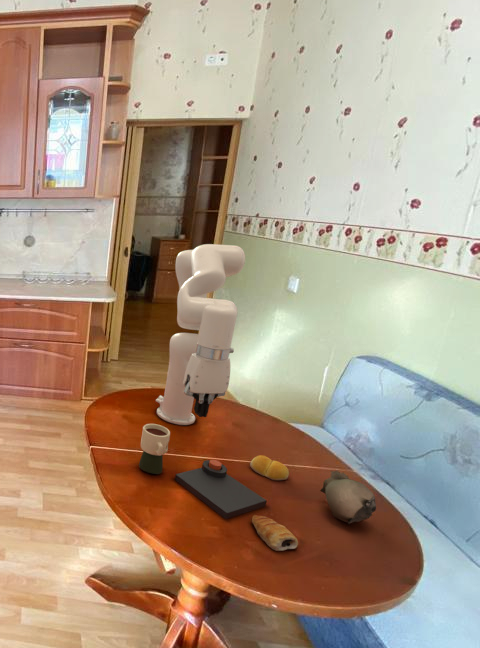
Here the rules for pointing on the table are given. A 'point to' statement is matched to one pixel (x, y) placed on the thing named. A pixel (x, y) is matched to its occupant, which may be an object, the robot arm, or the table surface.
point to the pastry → (274, 533)
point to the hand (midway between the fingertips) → (200, 414)
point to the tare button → (215, 464)
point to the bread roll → (269, 468)
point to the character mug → (153, 447)
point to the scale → (220, 491)
